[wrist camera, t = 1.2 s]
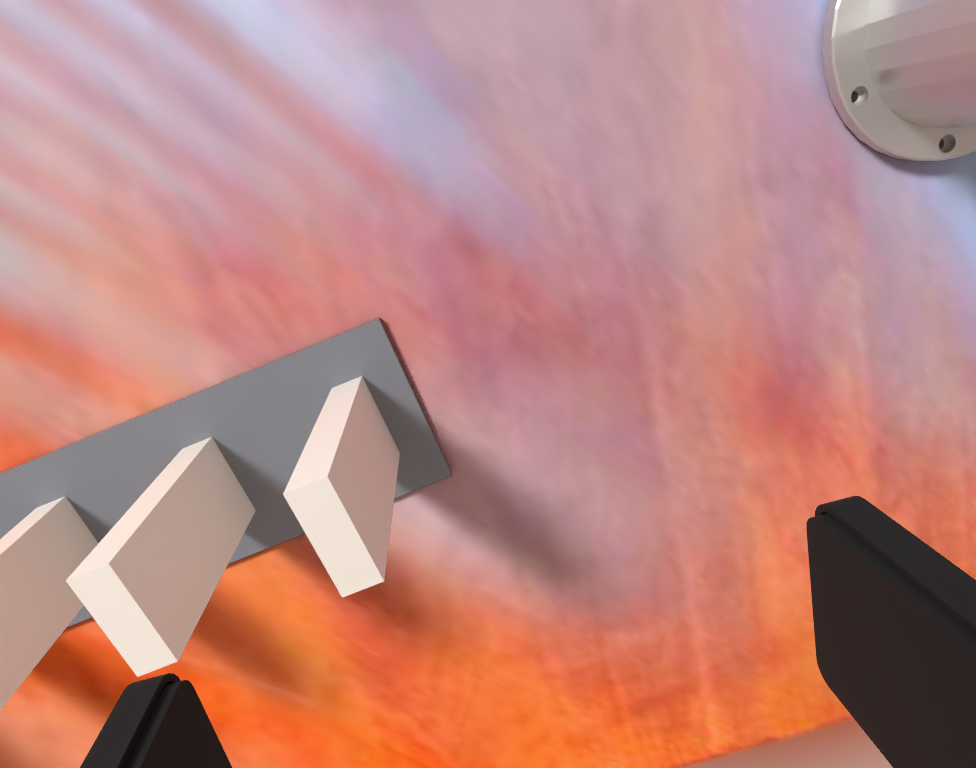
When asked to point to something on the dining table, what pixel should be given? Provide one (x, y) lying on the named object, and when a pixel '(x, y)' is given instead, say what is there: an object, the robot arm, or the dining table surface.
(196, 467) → the domino
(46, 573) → the domino
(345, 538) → the domino
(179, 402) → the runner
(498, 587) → the dining table surface
